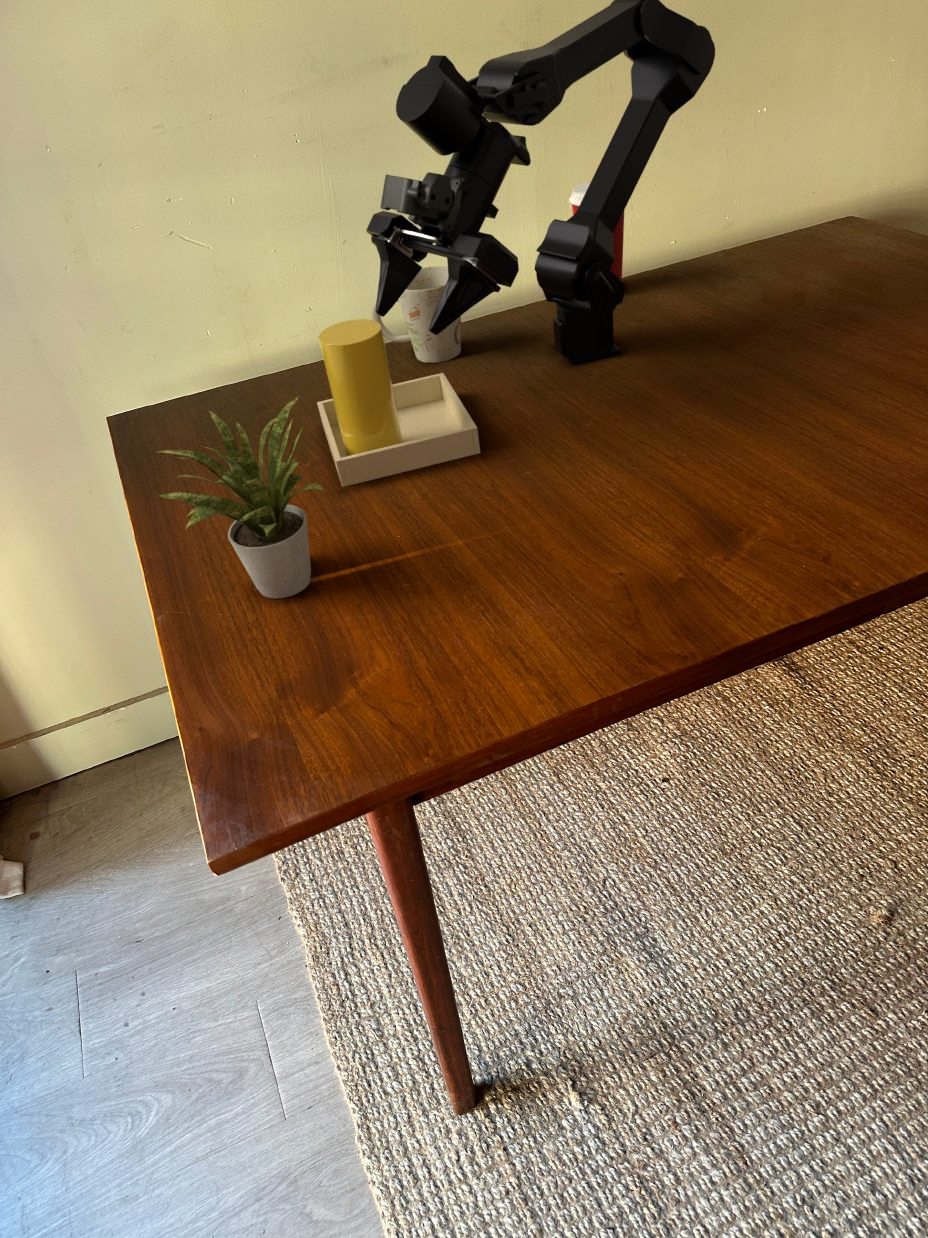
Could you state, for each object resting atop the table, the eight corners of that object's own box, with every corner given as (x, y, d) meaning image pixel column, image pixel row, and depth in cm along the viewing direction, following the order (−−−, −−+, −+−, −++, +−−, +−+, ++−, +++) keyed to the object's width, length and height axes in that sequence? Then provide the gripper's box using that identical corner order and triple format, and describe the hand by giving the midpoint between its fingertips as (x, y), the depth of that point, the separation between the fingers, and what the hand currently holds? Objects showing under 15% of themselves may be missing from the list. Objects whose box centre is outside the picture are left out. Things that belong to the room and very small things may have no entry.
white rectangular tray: (447, 399, 110) (443, 372, 108) (481, 456, 98) (477, 427, 96) (323, 429, 108) (316, 401, 106) (343, 490, 97) (335, 461, 94)
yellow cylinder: (398, 435, 104) (375, 314, 95) (410, 460, 99) (386, 335, 90) (343, 448, 103) (314, 327, 94) (352, 474, 98) (322, 350, 89)
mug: (462, 366, 117) (452, 288, 111) (369, 369, 120) (354, 293, 114) (475, 339, 123) (465, 263, 117) (386, 343, 126) (372, 269, 120)
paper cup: (637, 283, 131) (636, 178, 123) (614, 303, 127) (611, 196, 118) (588, 279, 135) (583, 177, 126) (564, 298, 130) (557, 194, 122)
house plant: (265, 522, 94) (217, 372, 83) (384, 538, 89) (349, 380, 78) (182, 608, 84) (117, 450, 74) (311, 631, 79) (260, 465, 69)
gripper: (363, 128, 94) (299, 270, 96) (483, 143, 82) (407, 305, 84) (433, 188, 102) (373, 318, 104) (552, 210, 90) (481, 356, 92)
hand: (405, 323), depth 96 cm, fingers open, 9 cm apart
